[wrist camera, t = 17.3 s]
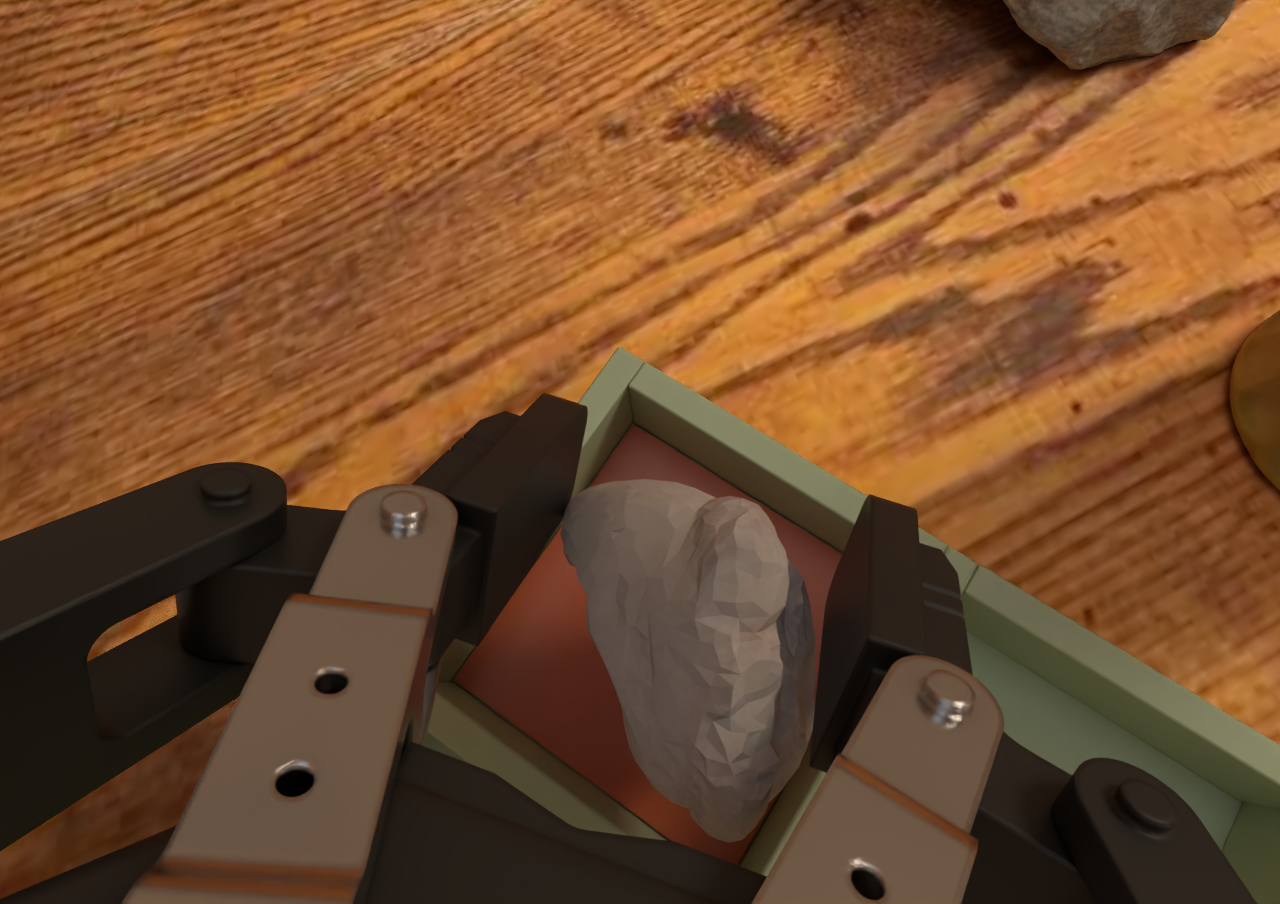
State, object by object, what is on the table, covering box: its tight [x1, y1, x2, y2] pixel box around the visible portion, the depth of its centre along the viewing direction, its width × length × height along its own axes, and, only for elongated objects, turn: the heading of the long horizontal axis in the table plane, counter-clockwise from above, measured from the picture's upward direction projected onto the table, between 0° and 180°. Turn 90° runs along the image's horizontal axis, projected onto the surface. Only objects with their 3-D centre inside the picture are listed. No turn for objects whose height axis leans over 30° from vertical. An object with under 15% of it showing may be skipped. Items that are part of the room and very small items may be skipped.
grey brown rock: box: [560, 479, 816, 843], centre depth 14 cm, size 6×4×10 cm, turn 25°
